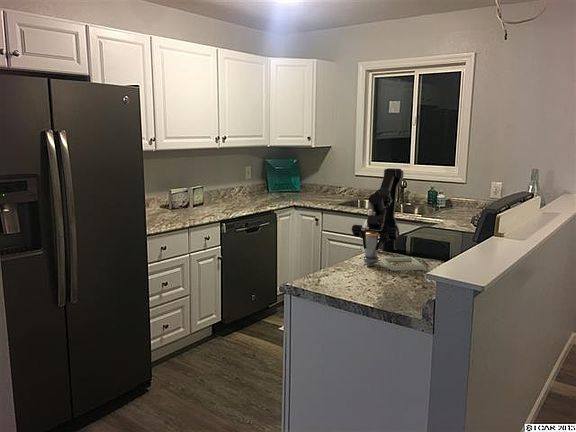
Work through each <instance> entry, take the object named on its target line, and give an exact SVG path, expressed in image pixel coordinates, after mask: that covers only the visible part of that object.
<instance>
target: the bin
mask: <svg viewBox="0 0 576 432" xmlns="http://www.w3.org/2000/svg"><path fill="white" fill-rule="evenodd" d="M380 260H381V261H380V262H382V263H383V264H384V265H385V267H386V268H388V269H389V270H390V271H419V270H421V271H422V270H423V271H424V270H425V265H424V264H423V263H421V262H420V261H419V260H417V259H415V258H414V257H412V256H400V257H399V256H396V257H381V258H380ZM390 262H391V263H392V262H411V263H413V264H414V265H392V264H391V263H390Z"/></svg>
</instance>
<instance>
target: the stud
mask: <svg viewBox="0 0 576 432" xmlns="http://www.w3.org/2000/svg"><path fill="white" fill-rule="evenodd" d="M363 267H365V268H370V269H372V268H373V269H374V268H375V269H376V268H378V267H379V264H378V263H374V264H370V263H364V264H363Z"/></svg>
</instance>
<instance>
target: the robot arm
mask: <svg viewBox="0 0 576 432" xmlns="http://www.w3.org/2000/svg"><path fill="white" fill-rule="evenodd" d="M404 175H405V174H404V170H402V168H396V167H395V168H392V167H391V168H389V167H388V168H385V169H384V170H383V178H382V182H381V184H380V188H379V189H378V190H376V191H374V193H373V194H372V193H371V194H370V195H369V197H368V203H369V206H370V209H371V210H372V215H368V214H367V216H366V219H367V223H368V224H367V227H369V228H368V229H366V228H364V227H363V225H362V224H353V225H352V226H351V232H352V235H353V237H358V238H360V239H362V247H363V246H364V249H365V245H366V235H365V232H368V231H374V232H378V233H379V236H378V245H377V251H379V250H383V251H384V252H387V251H389V252H390V251H393V252H394V251H397V250H398V249H397V248H396V247H395V246H396V245H395V244H396V241H397V240H398V239H400V229H399V226H398V221H397V220H396V217H395V214H396V205H397V196H398V188H399V187H400V185H401V184H402V182H403V179H404Z"/></svg>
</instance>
